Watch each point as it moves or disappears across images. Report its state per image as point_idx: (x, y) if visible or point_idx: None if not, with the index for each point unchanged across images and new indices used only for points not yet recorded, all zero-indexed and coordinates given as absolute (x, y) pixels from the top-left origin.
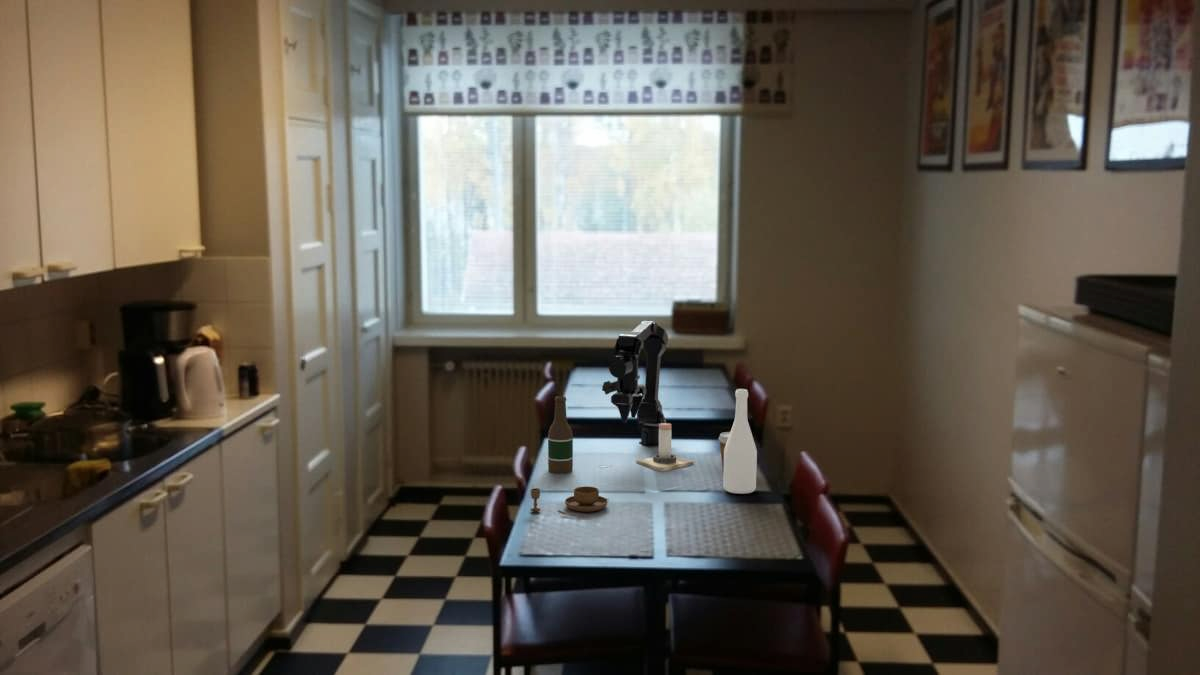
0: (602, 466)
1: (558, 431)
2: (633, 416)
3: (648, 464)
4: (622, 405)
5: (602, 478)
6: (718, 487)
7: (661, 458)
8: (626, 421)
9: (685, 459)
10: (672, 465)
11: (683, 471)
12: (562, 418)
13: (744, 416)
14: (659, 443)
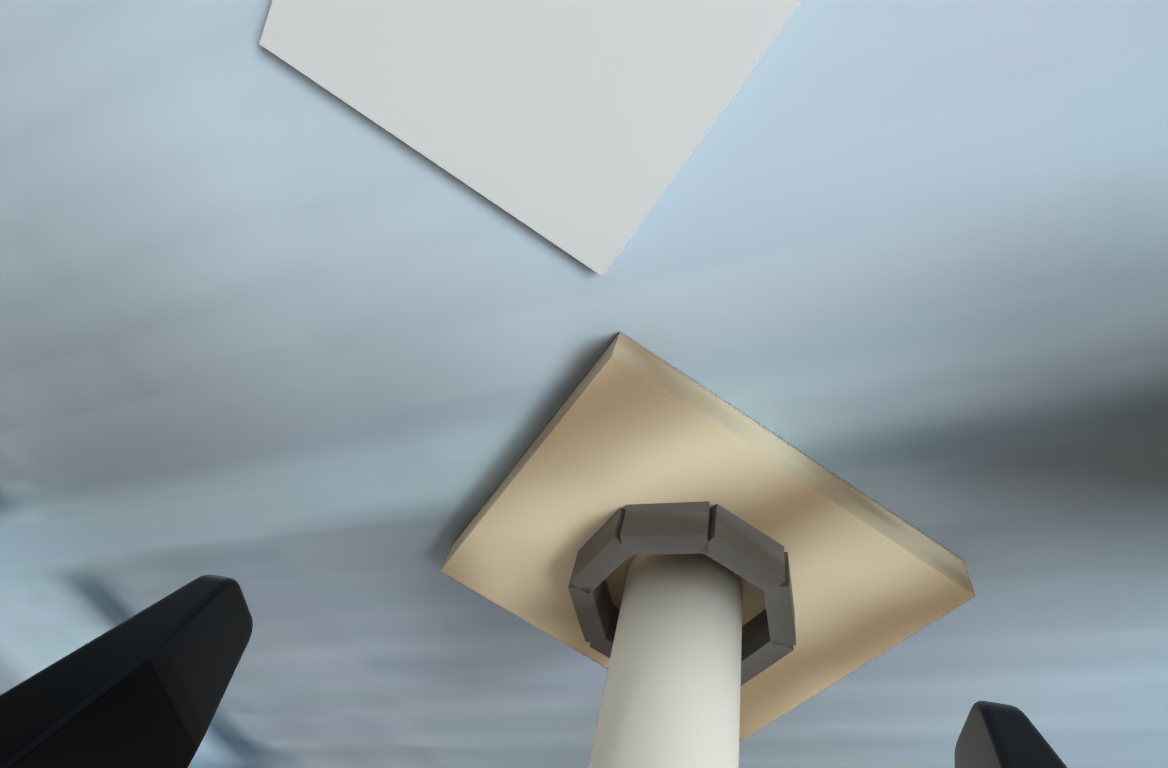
0: (306, 20)
1: None
2: (969, 763)
3: (511, 480)
4: None
5: (21, 158)
6: None
7: (589, 598)
8: (216, 674)
9: (788, 704)
10: (555, 636)
11: (561, 662)
12: None
13: None
14: (617, 700)
